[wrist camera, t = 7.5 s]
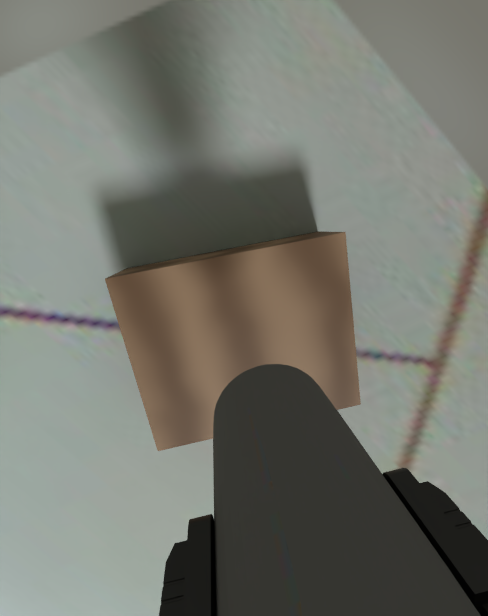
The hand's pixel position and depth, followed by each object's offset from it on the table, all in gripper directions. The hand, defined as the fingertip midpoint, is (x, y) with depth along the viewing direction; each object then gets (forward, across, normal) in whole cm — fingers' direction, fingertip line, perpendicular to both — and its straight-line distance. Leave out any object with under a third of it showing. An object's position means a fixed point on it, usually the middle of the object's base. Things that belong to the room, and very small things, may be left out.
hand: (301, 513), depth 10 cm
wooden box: (+21, 0, 0) cm, 21 cm away
